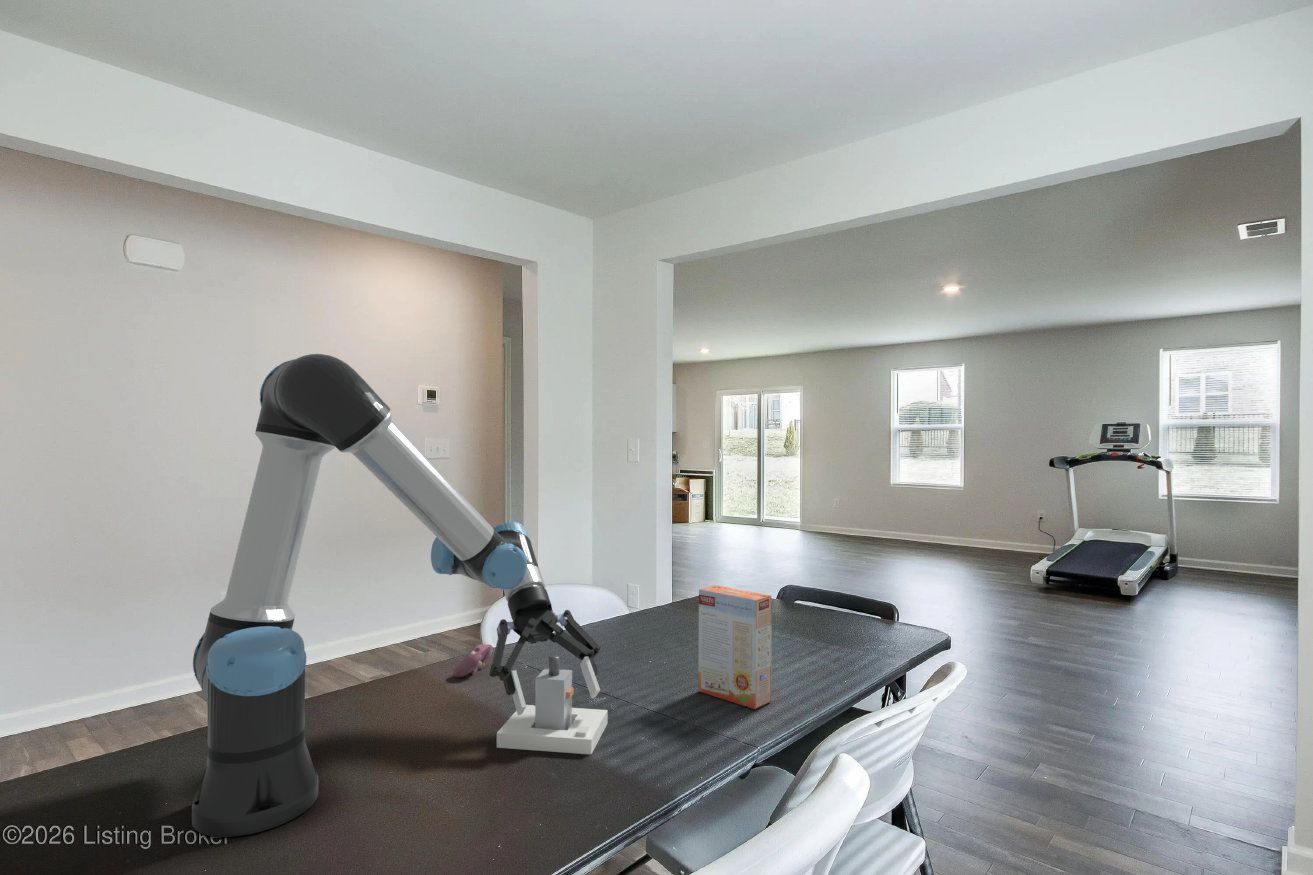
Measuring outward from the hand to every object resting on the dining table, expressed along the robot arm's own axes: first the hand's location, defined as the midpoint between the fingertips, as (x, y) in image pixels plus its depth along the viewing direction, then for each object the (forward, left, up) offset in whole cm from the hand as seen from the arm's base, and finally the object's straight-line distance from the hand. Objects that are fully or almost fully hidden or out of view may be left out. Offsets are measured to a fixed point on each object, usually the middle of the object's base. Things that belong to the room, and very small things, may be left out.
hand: (560, 702), depth 115 cm
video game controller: (-28, +30, -7) cm, 41 cm away
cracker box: (+28, +24, -7) cm, 38 cm away
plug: (-2, +2, -6) cm, 6 cm away
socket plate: (-2, +2, -6) cm, 7 cm away
